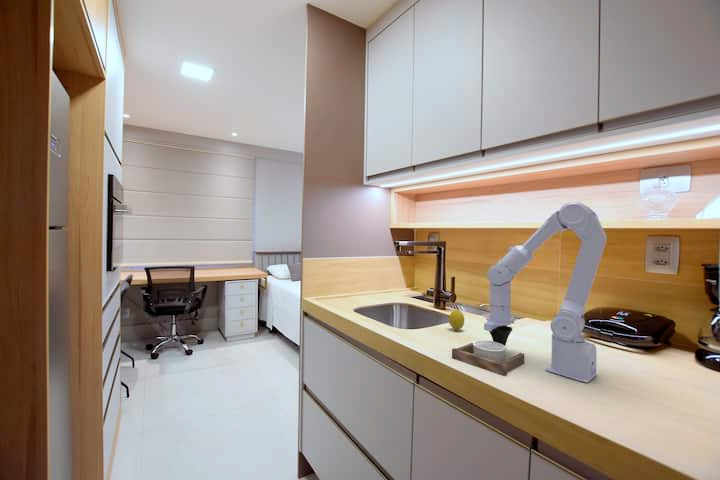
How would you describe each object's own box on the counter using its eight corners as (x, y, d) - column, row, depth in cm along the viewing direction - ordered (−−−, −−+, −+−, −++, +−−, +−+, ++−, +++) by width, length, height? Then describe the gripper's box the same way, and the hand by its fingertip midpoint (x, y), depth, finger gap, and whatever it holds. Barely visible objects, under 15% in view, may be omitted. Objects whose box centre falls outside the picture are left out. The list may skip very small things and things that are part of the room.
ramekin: (499, 355, 95) (499, 340, 95) (511, 366, 86) (511, 351, 86) (469, 353, 96) (469, 339, 96) (477, 365, 87) (477, 349, 87)
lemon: (462, 328, 123) (462, 308, 123) (465, 332, 117) (465, 311, 117) (447, 328, 124) (448, 307, 124) (450, 332, 118) (450, 310, 118)
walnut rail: (526, 363, 89) (526, 354, 89) (504, 375, 81) (504, 365, 81) (475, 348, 101) (475, 340, 101) (451, 357, 93) (452, 349, 93)
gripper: (499, 300, 102) (498, 342, 103) (474, 306, 93) (474, 352, 93) (521, 303, 97) (521, 348, 97) (497, 310, 88) (497, 359, 88)
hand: (499, 350), depth 95 cm, fingers closed
